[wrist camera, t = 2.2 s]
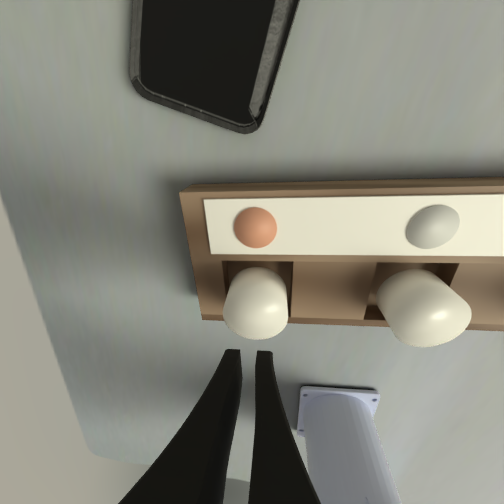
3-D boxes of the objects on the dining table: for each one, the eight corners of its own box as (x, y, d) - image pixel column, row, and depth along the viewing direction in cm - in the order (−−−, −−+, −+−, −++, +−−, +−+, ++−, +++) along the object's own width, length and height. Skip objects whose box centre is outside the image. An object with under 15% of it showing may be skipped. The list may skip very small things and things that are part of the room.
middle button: (430, 318, 16) (455, 348, 14) (370, 316, 16) (385, 345, 14) (451, 269, 14) (484, 294, 12) (383, 268, 14) (402, 292, 12)
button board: (582, 310, 17) (627, 335, 15) (210, 299, 20) (202, 319, 18) (692, 172, 13) (779, 180, 11) (192, 184, 16) (178, 192, 14)
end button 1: (285, 313, 17) (287, 340, 15) (232, 312, 17) (225, 338, 15) (287, 267, 15) (289, 290, 13) (227, 266, 15) (219, 288, 13)
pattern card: (672, 255, 13) (682, 258, 12) (211, 252, 15) (210, 254, 15) (732, 189, 11) (744, 191, 11) (204, 198, 14) (202, 200, 13)
